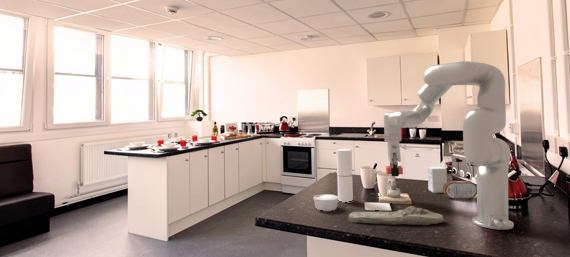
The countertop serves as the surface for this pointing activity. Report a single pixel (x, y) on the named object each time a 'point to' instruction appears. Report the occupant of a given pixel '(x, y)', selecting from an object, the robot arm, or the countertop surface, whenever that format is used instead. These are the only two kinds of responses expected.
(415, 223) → the elongated rock
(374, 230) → the countertop surface
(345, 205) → the countertop surface
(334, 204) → the ramekin
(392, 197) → the stand
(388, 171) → the red white square box
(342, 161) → the cylindrical container
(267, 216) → the countertop surface
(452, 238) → the countertop surface
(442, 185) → the supplement box
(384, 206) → the pad
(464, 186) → the tin
